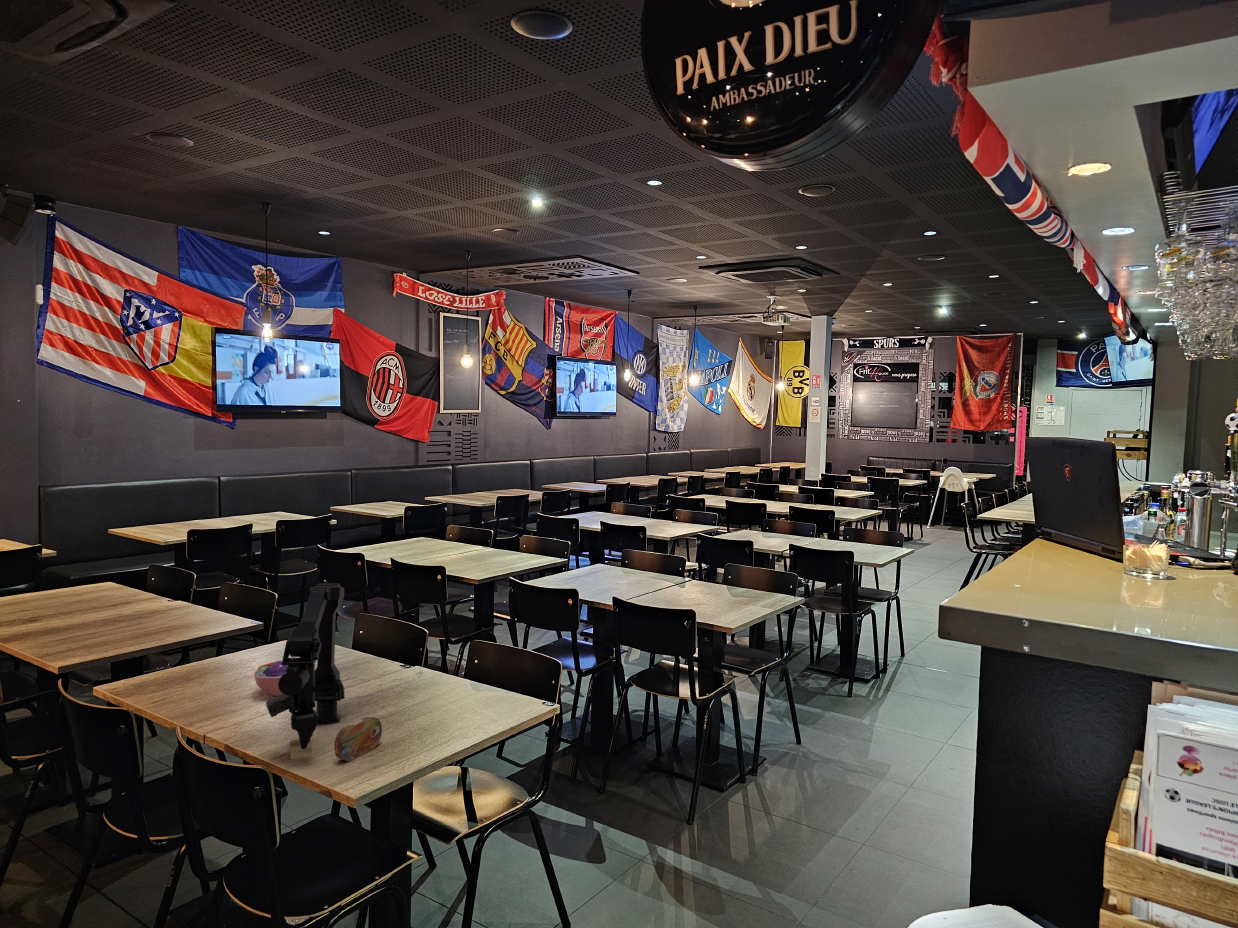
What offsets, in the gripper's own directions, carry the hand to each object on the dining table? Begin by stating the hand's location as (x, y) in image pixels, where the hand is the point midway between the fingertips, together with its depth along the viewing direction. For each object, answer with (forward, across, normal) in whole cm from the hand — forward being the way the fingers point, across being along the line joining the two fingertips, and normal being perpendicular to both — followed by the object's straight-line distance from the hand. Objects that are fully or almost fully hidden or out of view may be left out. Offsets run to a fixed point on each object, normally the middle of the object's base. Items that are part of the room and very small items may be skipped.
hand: (302, 742), depth 192 cm
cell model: (+3, -52, -2) cm, 52 cm away
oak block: (+3, 0, 0) cm, 3 cm away
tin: (+3, +6, +13) cm, 15 cm away
